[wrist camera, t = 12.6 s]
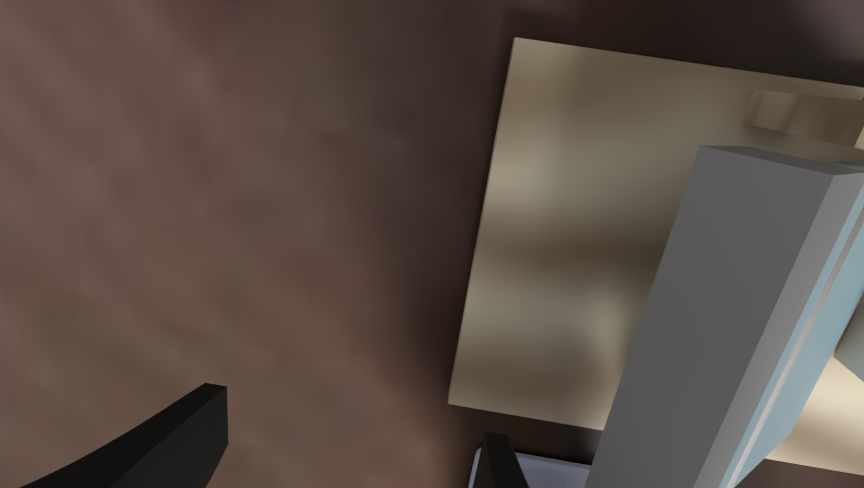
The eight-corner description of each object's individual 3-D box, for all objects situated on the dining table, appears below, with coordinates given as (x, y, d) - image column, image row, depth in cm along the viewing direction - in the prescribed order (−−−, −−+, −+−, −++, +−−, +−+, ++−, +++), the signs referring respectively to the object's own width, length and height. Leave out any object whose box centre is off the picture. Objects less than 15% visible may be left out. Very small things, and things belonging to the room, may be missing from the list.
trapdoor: (723, 393, 24) (793, 433, 22) (583, 488, 17) (664, 561, 15) (831, 147, 20) (933, 166, 17) (700, 145, 13) (839, 176, 11)
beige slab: (880, 464, 24) (1023, 608, 18) (448, 390, 25) (439, 503, 19) (1094, 122, 18) (1431, 155, 12) (513, 38, 19) (531, 26, 12)
